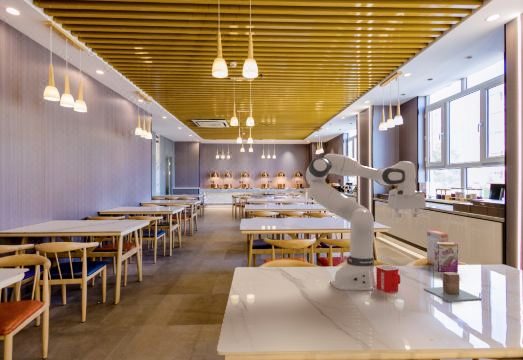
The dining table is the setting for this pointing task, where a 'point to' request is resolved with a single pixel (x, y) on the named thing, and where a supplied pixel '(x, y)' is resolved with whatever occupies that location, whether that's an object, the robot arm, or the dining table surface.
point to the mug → (387, 278)
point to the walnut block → (451, 283)
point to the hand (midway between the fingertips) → (406, 217)
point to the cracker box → (431, 239)
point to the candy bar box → (446, 257)
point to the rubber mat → (452, 298)
